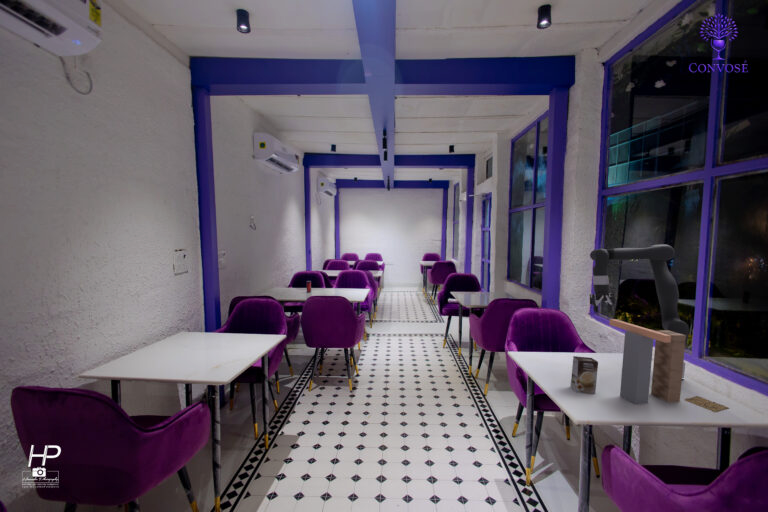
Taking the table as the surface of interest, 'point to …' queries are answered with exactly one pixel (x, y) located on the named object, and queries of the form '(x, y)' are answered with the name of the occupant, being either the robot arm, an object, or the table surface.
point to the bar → (640, 330)
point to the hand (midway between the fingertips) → (602, 311)
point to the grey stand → (636, 368)
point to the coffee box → (584, 374)
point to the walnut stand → (668, 367)
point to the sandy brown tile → (706, 404)
